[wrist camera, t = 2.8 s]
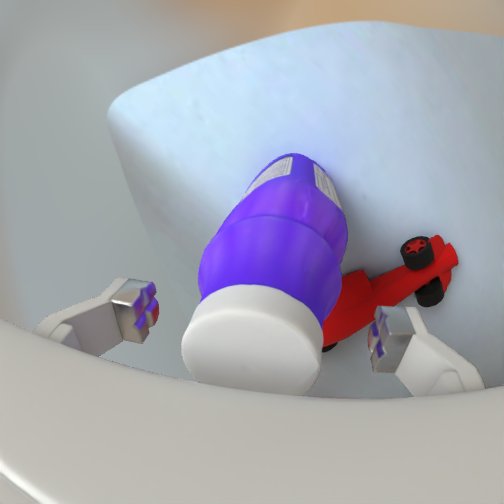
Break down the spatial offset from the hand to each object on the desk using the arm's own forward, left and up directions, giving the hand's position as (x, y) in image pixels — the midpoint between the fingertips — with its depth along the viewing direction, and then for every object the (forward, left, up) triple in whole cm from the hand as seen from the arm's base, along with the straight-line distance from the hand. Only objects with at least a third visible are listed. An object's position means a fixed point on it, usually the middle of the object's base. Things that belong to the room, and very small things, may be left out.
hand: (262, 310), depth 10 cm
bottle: (0, 0, -15) cm, 15 cm away
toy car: (-8, +8, -15) cm, 19 cm away
